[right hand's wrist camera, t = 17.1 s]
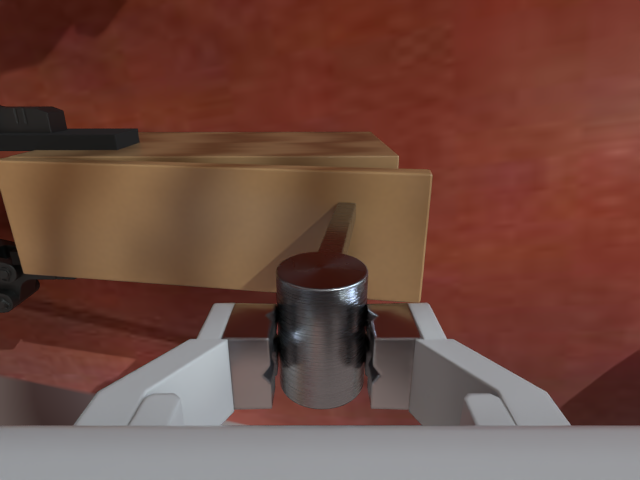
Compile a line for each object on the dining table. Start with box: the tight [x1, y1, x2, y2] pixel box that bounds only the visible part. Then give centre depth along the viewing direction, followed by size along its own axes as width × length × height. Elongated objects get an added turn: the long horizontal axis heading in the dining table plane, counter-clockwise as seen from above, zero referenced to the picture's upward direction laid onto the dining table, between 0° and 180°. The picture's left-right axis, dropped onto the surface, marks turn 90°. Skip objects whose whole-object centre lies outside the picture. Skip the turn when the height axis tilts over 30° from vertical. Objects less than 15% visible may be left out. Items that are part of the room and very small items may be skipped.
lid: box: [0, 157, 432, 409], centre depth 14 cm, size 18×5×8 cm, turn 90°
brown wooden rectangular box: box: [10, 132, 399, 169], centre depth 24 cm, size 17×5×10 cm, turn 90°
